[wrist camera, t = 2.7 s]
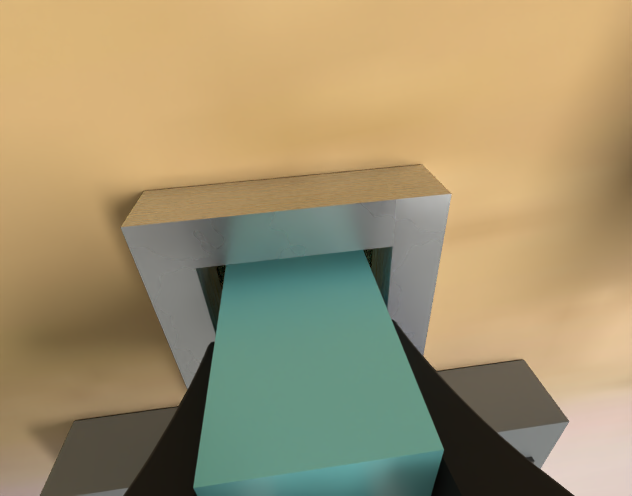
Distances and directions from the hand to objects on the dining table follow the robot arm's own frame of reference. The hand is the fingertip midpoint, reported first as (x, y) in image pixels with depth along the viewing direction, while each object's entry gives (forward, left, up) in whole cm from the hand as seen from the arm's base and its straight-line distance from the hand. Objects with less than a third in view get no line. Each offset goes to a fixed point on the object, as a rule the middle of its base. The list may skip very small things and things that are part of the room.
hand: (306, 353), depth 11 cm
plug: (0, 0, -3) cm, 3 cm away
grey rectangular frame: (0, 0, -3) cm, 3 cm away
